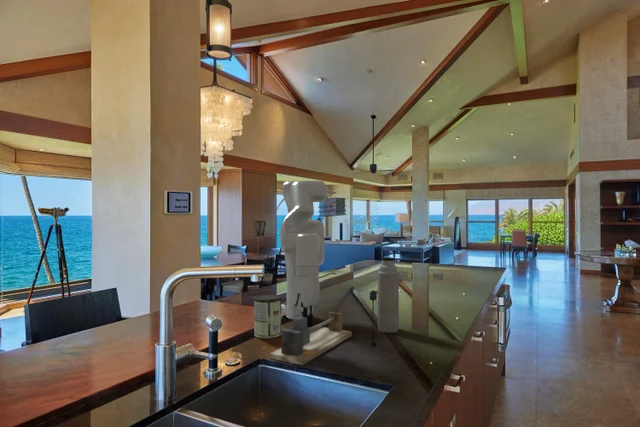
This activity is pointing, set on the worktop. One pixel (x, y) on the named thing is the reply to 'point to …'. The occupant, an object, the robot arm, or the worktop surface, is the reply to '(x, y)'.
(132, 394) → the worktop surface
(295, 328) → the sleeve
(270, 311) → the coffee can
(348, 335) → the rail
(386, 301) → the thermos bottle
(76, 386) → the worktop surface
